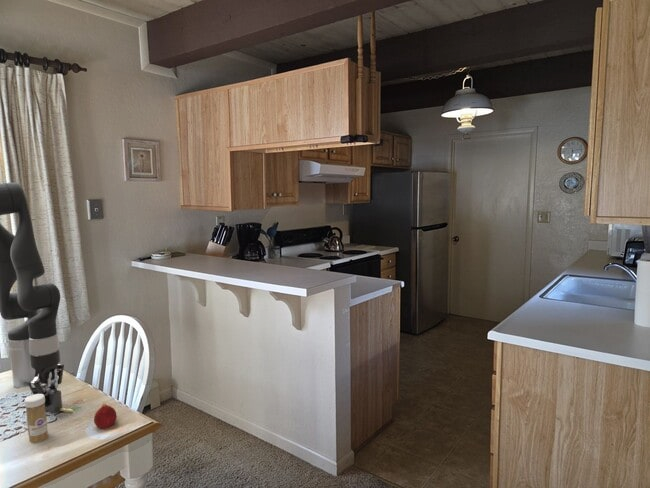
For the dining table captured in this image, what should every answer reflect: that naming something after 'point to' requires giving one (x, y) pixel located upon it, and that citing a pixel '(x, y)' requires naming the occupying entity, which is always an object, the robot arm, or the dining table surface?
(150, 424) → the dining table surface
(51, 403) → the peg knob
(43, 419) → the sprinkles bottle
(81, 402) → the tuner board
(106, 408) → the onion
